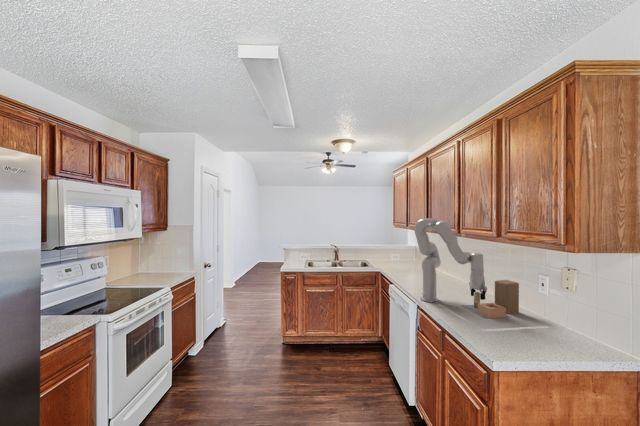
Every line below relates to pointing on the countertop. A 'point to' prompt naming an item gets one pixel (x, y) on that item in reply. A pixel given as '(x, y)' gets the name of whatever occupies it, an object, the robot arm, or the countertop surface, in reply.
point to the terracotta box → (491, 310)
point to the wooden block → (507, 295)
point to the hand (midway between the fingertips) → (477, 297)
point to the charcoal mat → (475, 310)
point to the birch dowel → (476, 299)
